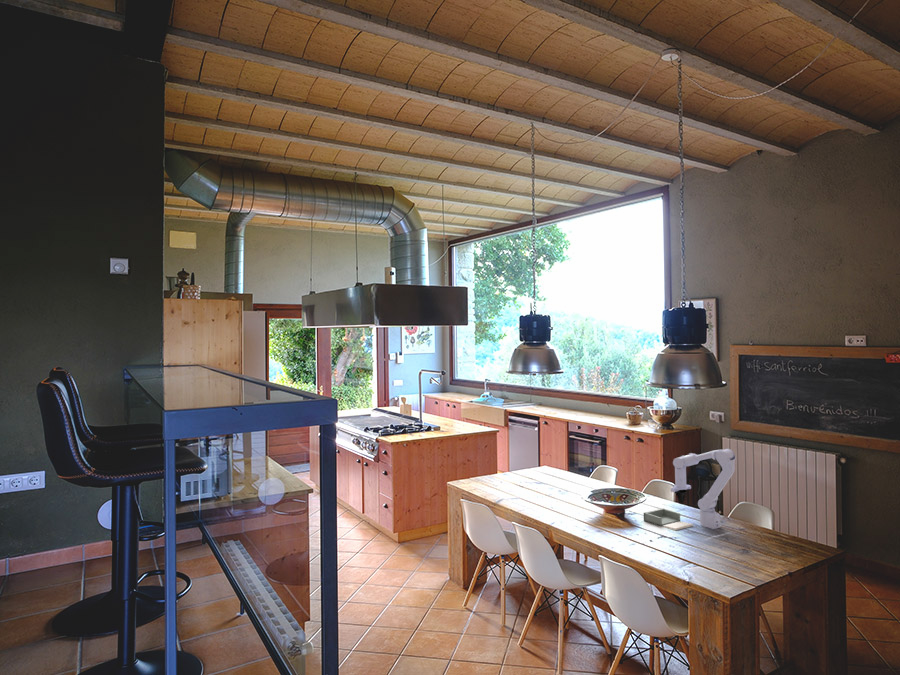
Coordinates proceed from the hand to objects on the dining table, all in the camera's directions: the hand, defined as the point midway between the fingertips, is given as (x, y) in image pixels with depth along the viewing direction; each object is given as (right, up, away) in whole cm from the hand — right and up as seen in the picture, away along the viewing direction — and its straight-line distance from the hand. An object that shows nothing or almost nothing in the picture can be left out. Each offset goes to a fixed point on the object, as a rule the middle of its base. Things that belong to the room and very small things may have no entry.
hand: (681, 503), depth 302 cm
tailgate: (-7, -9, -12) cm, 16 cm away
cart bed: (-12, -10, -3) cm, 16 cm away
